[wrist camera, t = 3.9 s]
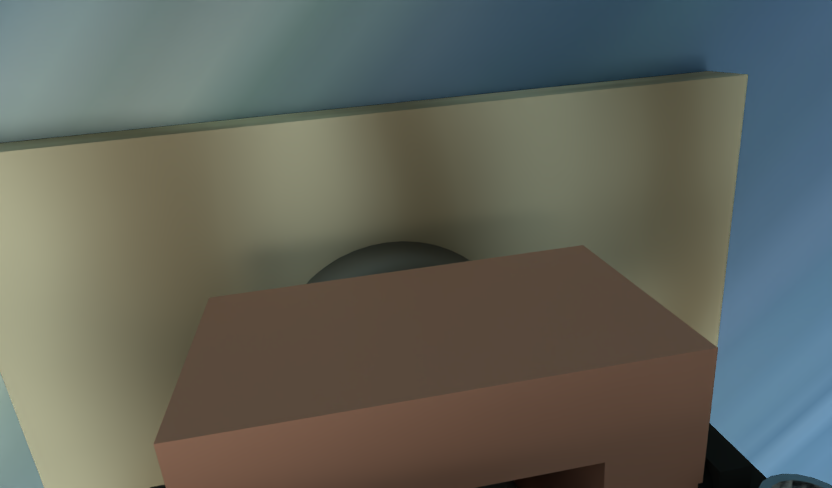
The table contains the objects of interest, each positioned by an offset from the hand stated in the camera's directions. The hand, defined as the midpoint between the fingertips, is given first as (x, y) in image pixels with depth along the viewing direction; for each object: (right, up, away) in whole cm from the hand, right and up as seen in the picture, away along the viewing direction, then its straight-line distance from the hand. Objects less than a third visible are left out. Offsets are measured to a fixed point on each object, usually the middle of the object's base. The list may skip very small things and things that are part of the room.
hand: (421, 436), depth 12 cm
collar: (0, 0, 0) cm, 0 cm away
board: (0, -7, +8) cm, 10 cm away
